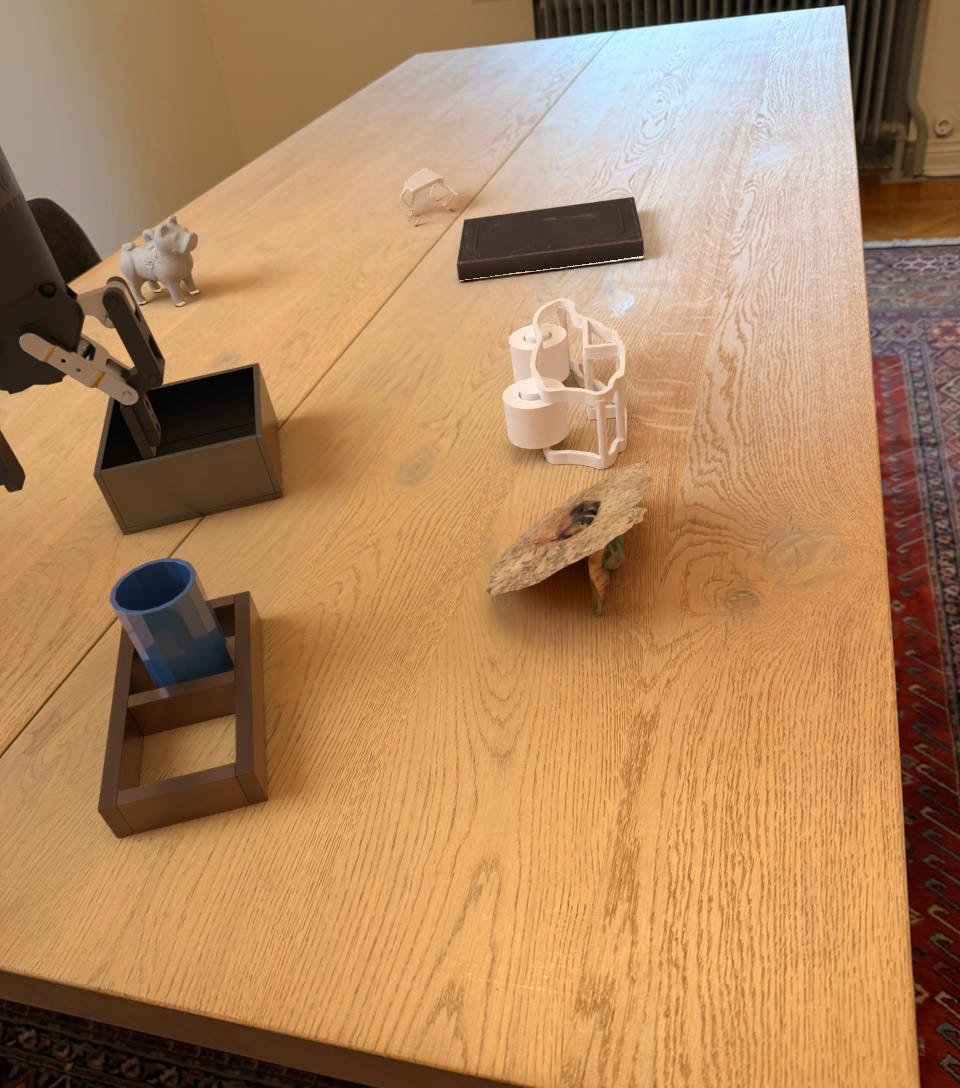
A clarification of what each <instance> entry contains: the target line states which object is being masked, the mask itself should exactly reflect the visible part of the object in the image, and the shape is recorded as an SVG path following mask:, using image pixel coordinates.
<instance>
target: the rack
mask: <svg viewBox="0 0 960 1088" xmlns="http://www.w3.org/2000/svg"><path fill="white" fill-rule="evenodd" d="M209 601H210V603H211V605H212V608H213V610H214V612H215V614H216V616H217V619H218V621H219V623H220V625H221V628H222V630H223V632H224V634H225V636H226V637H229V636H233V635H234V658H235V670H232V671H228V672H224V673H220V674H216V675H212V676H208V677H204V678H200V679H195V680H191V681H187V682H183V683H179V684H175V685H171V686H167V687H163V688H159V689H157V688H154V689H151V690H149V681H150V675H149V673H148V671H147V669H146V667H145V665H144V664H143V662H142V660H141V658H140V656H139V654H138V653H137V651H136V649H135V647H134V645H133V643H132V642H131V640H130V638H129V636H128V634H127V633H126V631H125V629H124V627H123V625H122V624H121V631H120V632H121V633H120V637H119V638H120V639H119V646H118V652H117V653H118V654H117V659H116V660H117V661H116V668H115V677H114V683H113V691H112V698H111V706H110V712H109V713H110V714H109V721H108V728H107V736H106V742H105V743H106V746H105V752H104V760H103V767H102V774H101V782H100V789H99V796H98V805H97V812H98V813H99V815H100V816H101V818H102V819H103V821H104V822H105V824H106V825H107V826H108V828H109V829H110V831H111V832H112V834H113V835H114V837H115V838H117V839H119V838H122V837H126V836H130V835H134V834H139V833H143V832H147V831H151V830H154V829H159V828H163V827H167V826H170V825H171V826H172V825H174V824H178V823H183V822H187V821H190V820H194V819H198V818H199V819H200V818H203V817H207V816H210V815H214V814H217V813H223V812H226V811H230V810H235V809H237V808H243V807H247V806H250V805H253V804H257V803H261V802H265V801H268V796H269V795H268V773H267V772H268V771H267V770H268V769H267V746H266V745H267V744H266V721H265V719H266V718H265V696H264V695H265V694H264V693H265V691H264V670H263V669H264V668H263V646H262V645H263V643H262V640H263V639H262V620H261V619H262V618H261V616H260V613H259V610H258V608H257V606H256V604H255V600H254V599H253V595H252V594H251V591H249V590H246V591H242V592H237V593H233V594H228V595H224V596H220V597H216V598H212V599H209ZM232 714H235V716H234V717H235V718H234V720H235V762H231V763H227V764H223V765H219V766H215V767H210V768H207V769H203V770H198V771H194V772H191V773H187V774H183V775H179V776H175V777H171V778H167V779H162V780H158V781H155V782H154V781H153V782H151V783H146V784H142V785H140V775H141V768H142V767H141V766H142V757H143V756H142V755H143V744H144V736H147V735H151V734H155V733H160V732H164V731H167V730H172V729H176V728H179V727H183V726H188V725H192V724H196V723H199V722H204V721H208V720H212V719H216V718H220V717H224V716H229V715H232Z"/></svg>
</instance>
